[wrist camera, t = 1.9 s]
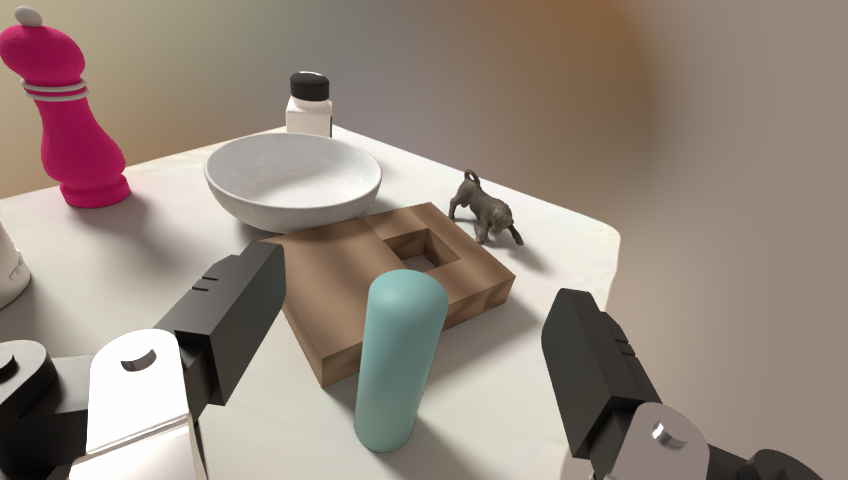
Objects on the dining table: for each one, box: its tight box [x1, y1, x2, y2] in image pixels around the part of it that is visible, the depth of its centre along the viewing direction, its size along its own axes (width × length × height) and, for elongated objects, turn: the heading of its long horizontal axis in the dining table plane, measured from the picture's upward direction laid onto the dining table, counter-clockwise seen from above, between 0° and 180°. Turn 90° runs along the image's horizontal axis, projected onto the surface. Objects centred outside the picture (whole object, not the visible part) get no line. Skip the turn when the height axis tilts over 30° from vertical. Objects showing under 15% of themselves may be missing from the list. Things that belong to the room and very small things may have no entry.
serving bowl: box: [204, 133, 382, 234], centre depth 49 cm, size 21×21×7 cm
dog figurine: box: [448, 169, 524, 246], centre depth 52 cm, size 12×6×7 cm, turn 33°
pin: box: [354, 269, 449, 453], centre depth 25 cm, size 5×5×14 cm
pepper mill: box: [0, 6, 130, 208], centre depth 40 cm, size 7×7×20 cm
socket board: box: [258, 202, 516, 388], centre depth 40 cm, size 22×16×4 cm
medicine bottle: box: [286, 72, 332, 138], centre depth 64 cm, size 7×7×12 cm
